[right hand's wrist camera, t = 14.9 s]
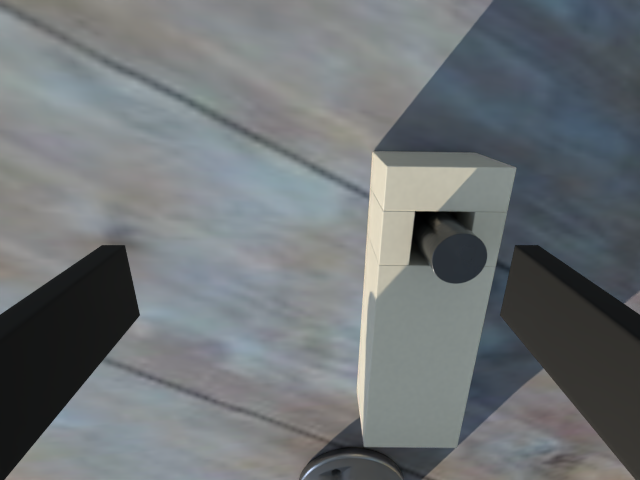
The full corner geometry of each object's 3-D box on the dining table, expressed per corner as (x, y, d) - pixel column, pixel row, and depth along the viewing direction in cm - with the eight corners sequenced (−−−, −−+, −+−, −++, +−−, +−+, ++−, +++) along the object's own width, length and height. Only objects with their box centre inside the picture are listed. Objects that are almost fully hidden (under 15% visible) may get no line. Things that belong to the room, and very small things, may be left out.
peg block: (372, 151, 35) (386, 165, 28) (475, 152, 35) (517, 167, 28) (356, 390, 46) (363, 447, 39) (435, 391, 46) (457, 448, 39)
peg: (400, 191, 37) (435, 233, 25) (439, 191, 37) (492, 233, 25) (396, 229, 38) (428, 284, 27) (434, 228, 38) (482, 283, 27)
